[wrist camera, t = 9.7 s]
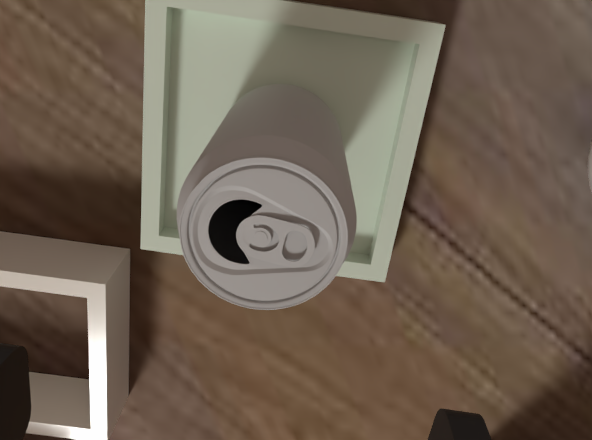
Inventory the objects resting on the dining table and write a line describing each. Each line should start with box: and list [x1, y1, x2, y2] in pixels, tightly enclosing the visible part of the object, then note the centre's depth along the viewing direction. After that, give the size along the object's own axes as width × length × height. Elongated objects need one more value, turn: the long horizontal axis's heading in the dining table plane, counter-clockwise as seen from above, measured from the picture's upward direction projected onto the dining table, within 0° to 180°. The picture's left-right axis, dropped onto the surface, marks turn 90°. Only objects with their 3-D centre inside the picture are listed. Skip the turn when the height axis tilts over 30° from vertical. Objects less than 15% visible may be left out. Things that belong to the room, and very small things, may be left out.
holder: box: [0, 231, 130, 440], centre depth 33 cm, size 12×12×4 cm
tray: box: [140, 0, 446, 282], centre depth 28 cm, size 14×14×2 cm
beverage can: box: [177, 84, 357, 310], centre depth 23 cm, size 6×6×12 cm
